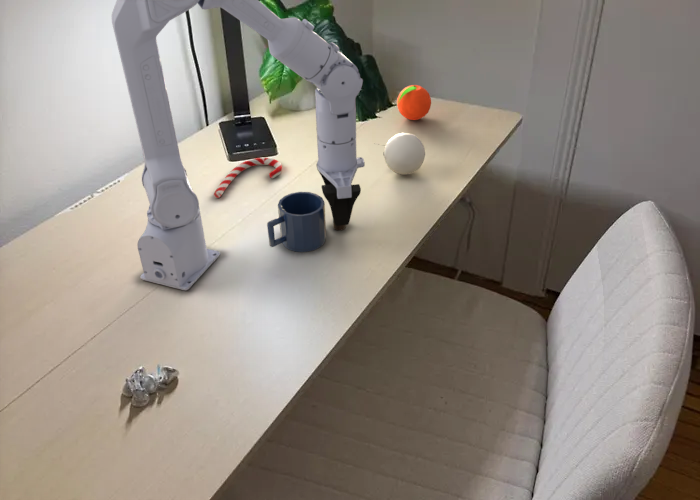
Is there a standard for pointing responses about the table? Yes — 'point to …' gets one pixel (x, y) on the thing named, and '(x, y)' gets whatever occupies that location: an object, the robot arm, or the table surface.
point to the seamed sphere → (404, 153)
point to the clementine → (414, 102)
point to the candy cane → (245, 165)
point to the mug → (299, 222)
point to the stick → (338, 226)
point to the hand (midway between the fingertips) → (339, 214)
